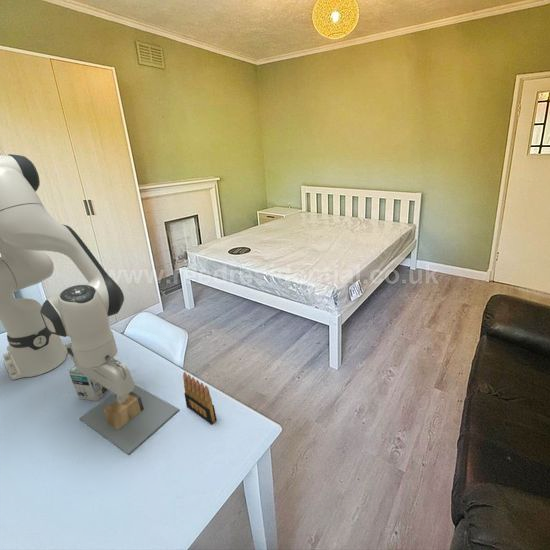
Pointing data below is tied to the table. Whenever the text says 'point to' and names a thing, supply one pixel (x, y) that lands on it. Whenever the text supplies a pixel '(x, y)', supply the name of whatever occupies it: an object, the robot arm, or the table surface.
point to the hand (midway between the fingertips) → (110, 394)
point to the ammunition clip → (199, 399)
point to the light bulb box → (85, 386)
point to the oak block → (123, 410)
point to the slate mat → (131, 421)
